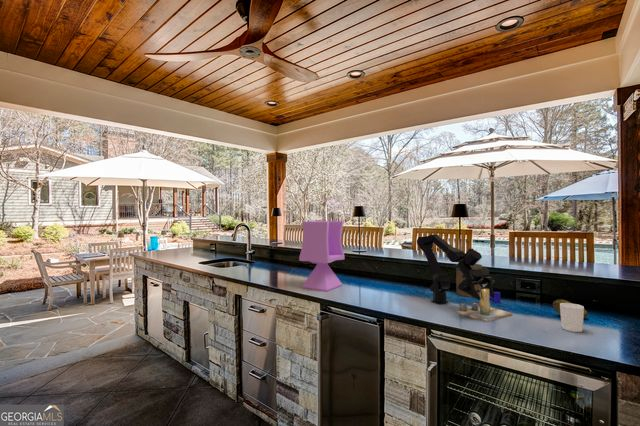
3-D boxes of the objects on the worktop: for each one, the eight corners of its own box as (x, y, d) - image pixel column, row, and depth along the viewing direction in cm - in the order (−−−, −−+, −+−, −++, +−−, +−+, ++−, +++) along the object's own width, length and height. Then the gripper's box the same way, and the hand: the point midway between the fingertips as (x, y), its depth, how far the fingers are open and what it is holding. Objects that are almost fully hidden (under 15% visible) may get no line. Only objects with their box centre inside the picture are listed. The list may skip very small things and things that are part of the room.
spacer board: (455, 312, 155) (455, 310, 155) (481, 306, 164) (481, 304, 164) (486, 322, 140) (486, 319, 140) (512, 315, 150) (512, 313, 150)
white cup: (555, 326, 135) (555, 303, 135) (572, 325, 135) (571, 302, 135) (571, 333, 127) (571, 308, 127) (589, 332, 127) (589, 307, 128)
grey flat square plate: (471, 314, 148) (471, 313, 148) (482, 312, 152) (482, 310, 152) (487, 319, 141) (487, 318, 141) (498, 316, 145) (498, 315, 145)
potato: (589, 322, 139) (588, 304, 139) (553, 317, 147) (552, 300, 147) (587, 317, 146) (586, 300, 146) (552, 312, 153) (552, 296, 153)
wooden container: (484, 293, 193) (483, 257, 193) (481, 298, 180) (481, 260, 180) (458, 290, 201) (458, 256, 201) (454, 295, 188) (453, 259, 188)
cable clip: (483, 297, 183) (483, 287, 183) (491, 298, 182) (491, 287, 182) (491, 303, 171) (491, 292, 171) (500, 303, 170) (500, 292, 170)
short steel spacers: (458, 310, 155) (458, 303, 155) (481, 305, 163) (481, 298, 163) (473, 314, 148) (473, 307, 148) (496, 309, 156) (496, 302, 156)
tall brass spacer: (478, 313, 148) (477, 287, 148) (486, 312, 149) (485, 287, 149) (483, 315, 144) (483, 289, 144) (491, 315, 145) (491, 289, 145)
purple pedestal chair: (327, 292, 197) (327, 221, 197) (299, 288, 209) (299, 221, 210) (344, 285, 216) (344, 221, 216) (317, 282, 228) (317, 220, 228)
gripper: (462, 262, 147) (483, 291, 136) (491, 260, 154) (512, 287, 143) (450, 276, 154) (468, 304, 144) (477, 273, 161) (497, 300, 151)
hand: (487, 298), depth 145 cm, fingers open, 9 cm apart
